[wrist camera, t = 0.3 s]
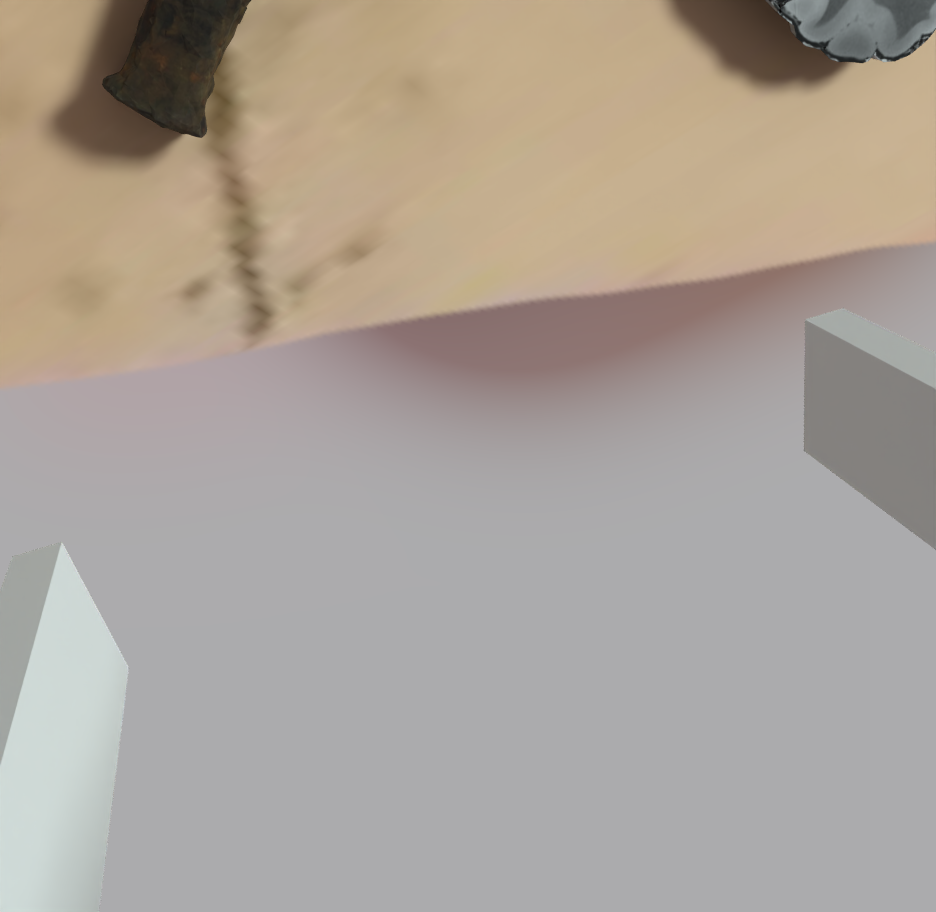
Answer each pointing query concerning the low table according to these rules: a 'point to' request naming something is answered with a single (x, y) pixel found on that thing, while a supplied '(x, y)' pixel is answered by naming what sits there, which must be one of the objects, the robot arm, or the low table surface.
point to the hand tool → (176, 61)
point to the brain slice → (860, 26)
